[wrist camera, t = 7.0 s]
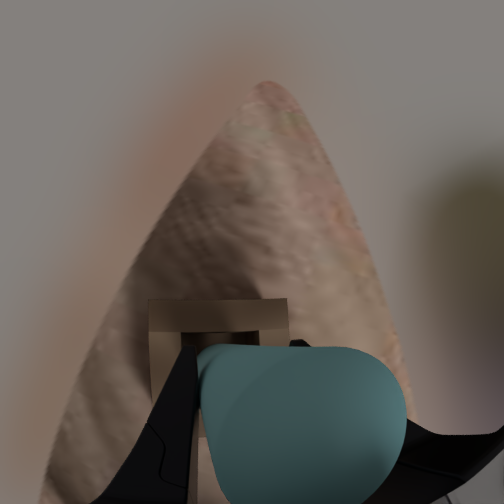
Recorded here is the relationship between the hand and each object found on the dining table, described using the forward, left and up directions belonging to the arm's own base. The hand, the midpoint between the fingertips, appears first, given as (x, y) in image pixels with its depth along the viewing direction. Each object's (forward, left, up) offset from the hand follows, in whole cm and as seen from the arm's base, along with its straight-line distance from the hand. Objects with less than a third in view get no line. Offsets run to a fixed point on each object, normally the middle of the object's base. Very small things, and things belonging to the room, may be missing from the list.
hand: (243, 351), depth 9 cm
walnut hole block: (-1, 0, -11) cm, 11 cm away
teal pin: (-1, 0, -7) cm, 7 cm away
